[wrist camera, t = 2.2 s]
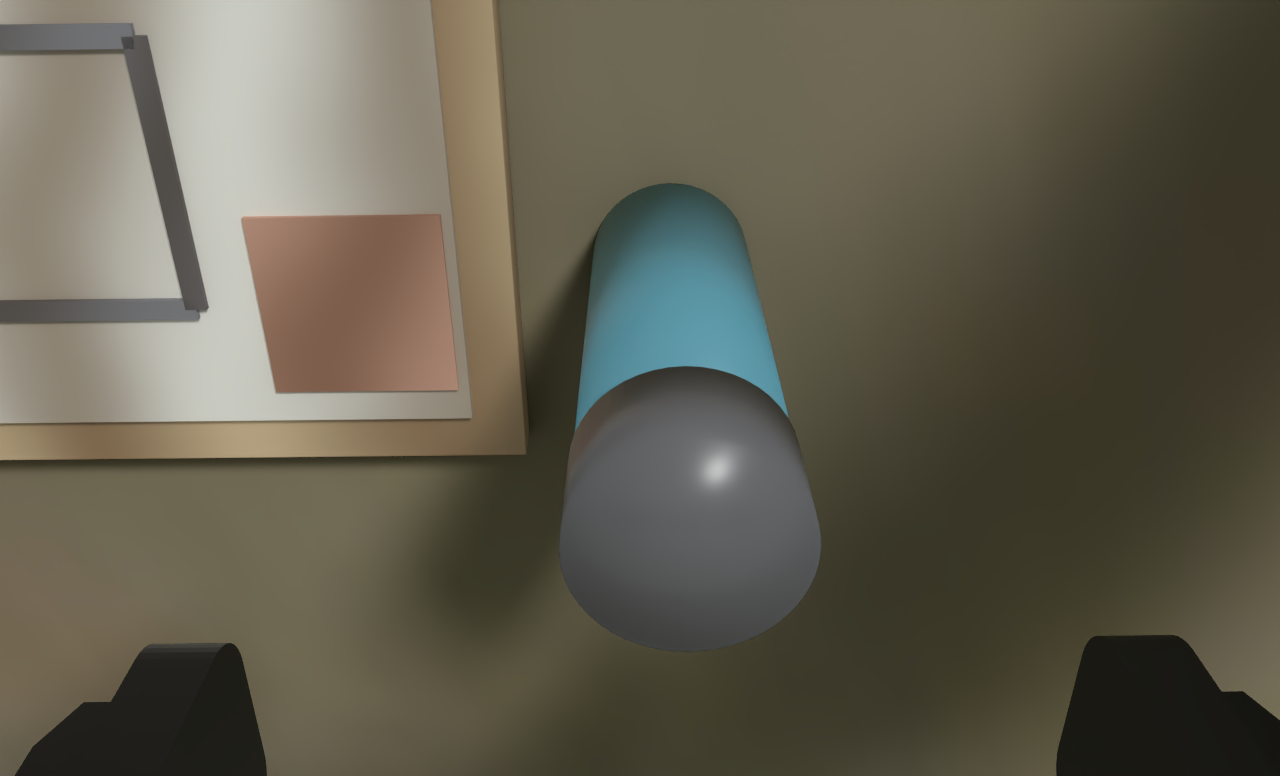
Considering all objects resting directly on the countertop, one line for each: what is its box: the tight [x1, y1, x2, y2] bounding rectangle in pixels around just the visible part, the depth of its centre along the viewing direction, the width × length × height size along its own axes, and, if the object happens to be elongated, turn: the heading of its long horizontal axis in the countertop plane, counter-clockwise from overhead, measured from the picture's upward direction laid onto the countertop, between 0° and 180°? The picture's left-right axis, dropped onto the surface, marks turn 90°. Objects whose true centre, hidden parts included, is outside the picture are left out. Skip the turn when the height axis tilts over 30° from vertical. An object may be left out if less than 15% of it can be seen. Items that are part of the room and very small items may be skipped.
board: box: [0, 0, 530, 460], centre depth 19 cm, size 16×12×1 cm
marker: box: [559, 183, 821, 652], centre depth 17 cm, size 3×3×9 cm
